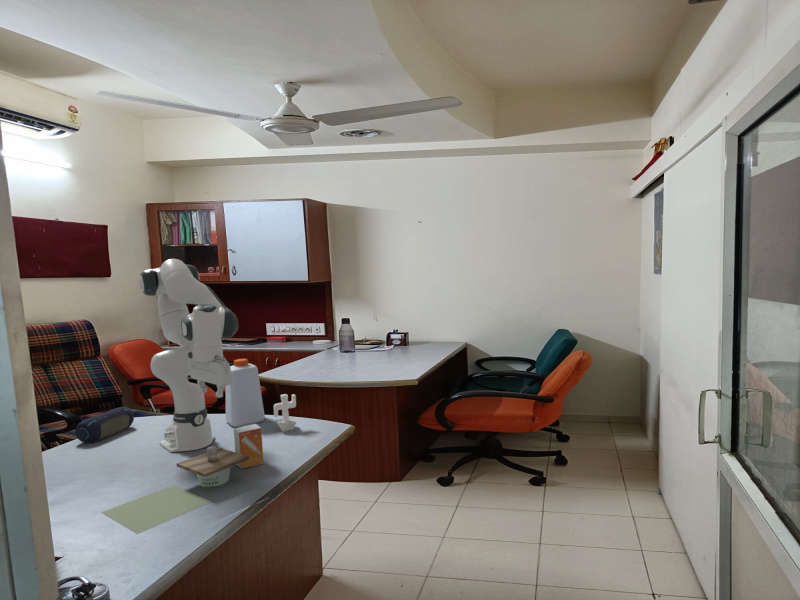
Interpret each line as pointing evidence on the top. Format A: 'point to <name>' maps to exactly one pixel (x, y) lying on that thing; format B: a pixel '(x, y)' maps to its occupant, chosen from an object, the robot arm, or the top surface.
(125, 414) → the portable speaker
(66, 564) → the top surface
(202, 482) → the food container
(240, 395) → the plastic bottle
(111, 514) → the olive mat
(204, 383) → the robot arm
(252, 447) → the small box
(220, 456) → the walnut lid
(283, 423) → the figurine
